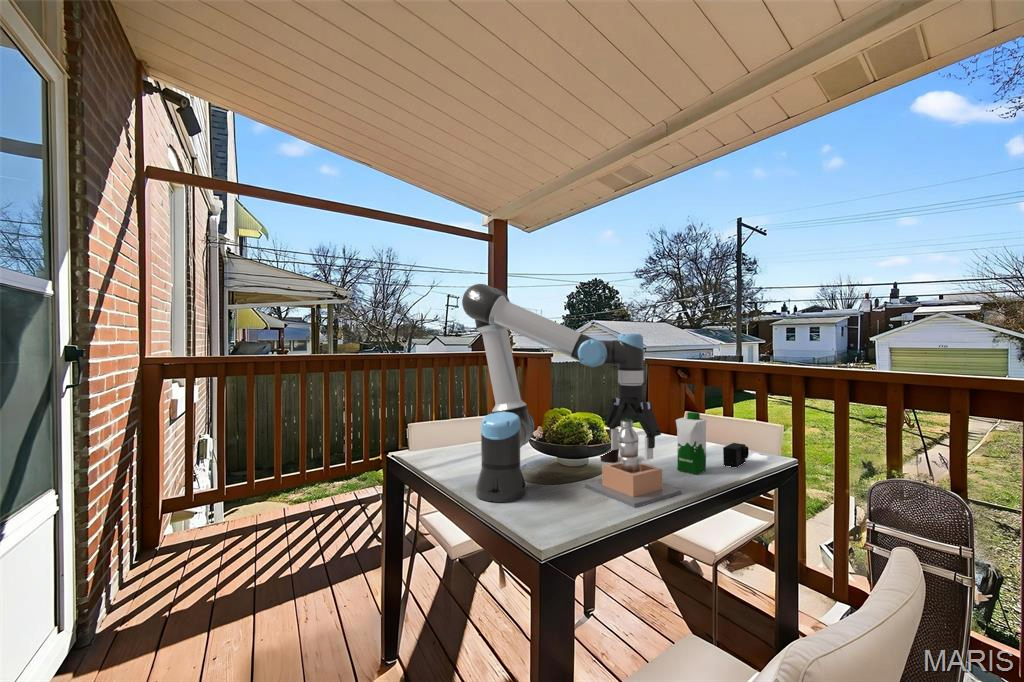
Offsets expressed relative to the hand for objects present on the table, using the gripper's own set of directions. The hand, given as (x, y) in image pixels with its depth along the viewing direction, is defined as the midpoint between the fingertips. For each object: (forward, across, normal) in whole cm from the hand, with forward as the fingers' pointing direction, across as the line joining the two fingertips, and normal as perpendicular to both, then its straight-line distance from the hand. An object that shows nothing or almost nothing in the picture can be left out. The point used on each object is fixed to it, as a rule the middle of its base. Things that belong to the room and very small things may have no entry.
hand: (631, 454), depth 130 cm
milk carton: (+11, +3, -33) cm, 35 cm away
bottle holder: (+11, 0, 0) cm, 11 cm away
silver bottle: (+10, 0, 0) cm, 10 cm away
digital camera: (+11, -1, -54) cm, 55 cm away
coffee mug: (+11, +29, -20) cm, 37 cm away
